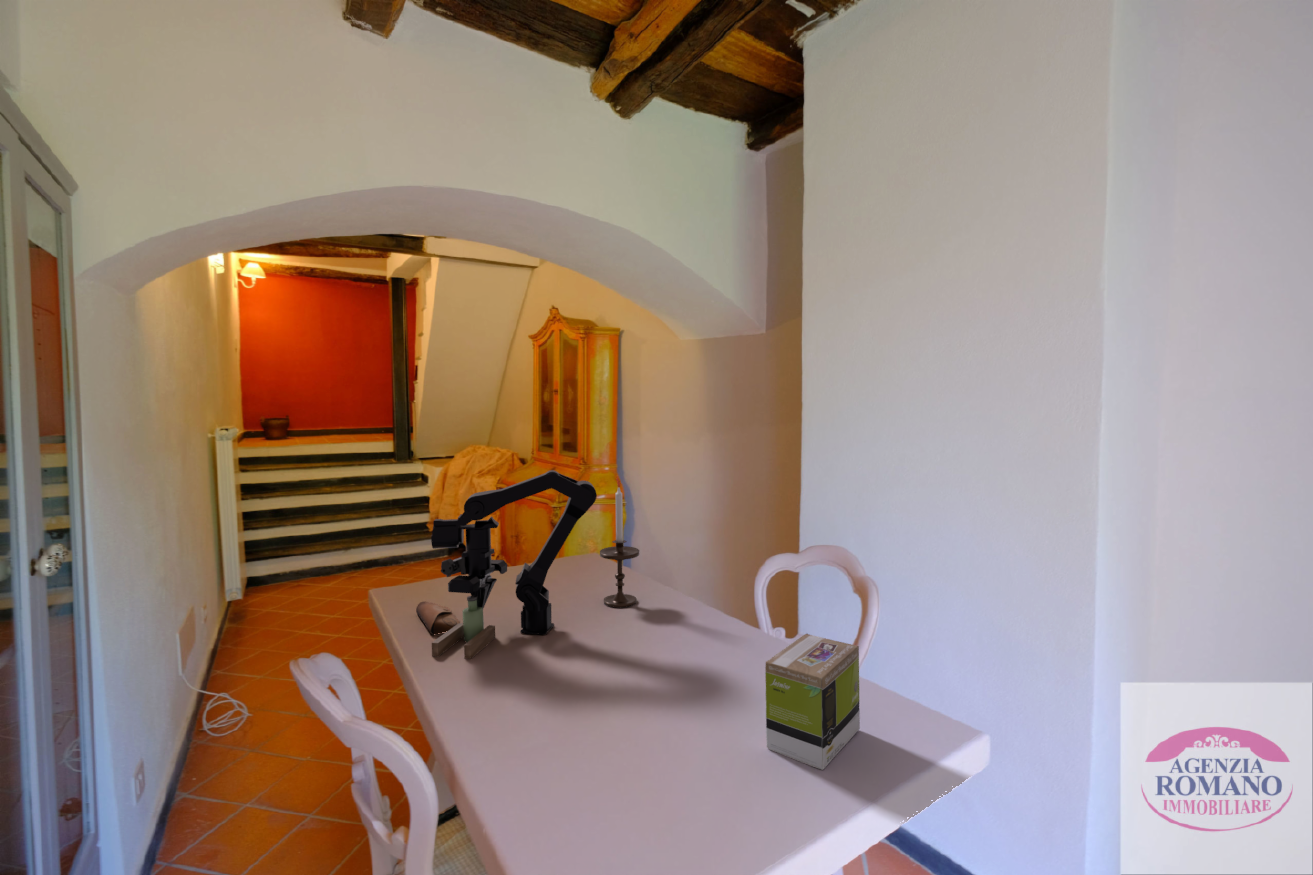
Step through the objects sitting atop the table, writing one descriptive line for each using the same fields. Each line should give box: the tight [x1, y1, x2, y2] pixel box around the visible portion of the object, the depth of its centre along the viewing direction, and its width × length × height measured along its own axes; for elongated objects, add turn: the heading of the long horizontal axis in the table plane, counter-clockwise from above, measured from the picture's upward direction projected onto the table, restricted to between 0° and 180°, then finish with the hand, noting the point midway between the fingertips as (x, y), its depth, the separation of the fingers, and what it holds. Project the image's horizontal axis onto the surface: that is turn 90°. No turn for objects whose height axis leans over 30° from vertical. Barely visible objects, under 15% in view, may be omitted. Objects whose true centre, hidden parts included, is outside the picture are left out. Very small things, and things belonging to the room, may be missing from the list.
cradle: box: [431, 622, 496, 660], centre depth 139 cm, size 9×12×3 cm
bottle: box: [461, 595, 485, 643], centre depth 143 cm, size 5×5×10 cm
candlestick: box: [599, 476, 640, 609], centre depth 168 cm, size 11×11×35 cm
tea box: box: [764, 633, 861, 771], centre depth 100 cm, size 15×10×15 cm, turn 141°
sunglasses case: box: [415, 600, 461, 636], centre depth 155 cm, size 18×7×7 cm
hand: (480, 610), depth 147 cm, fingers closed
